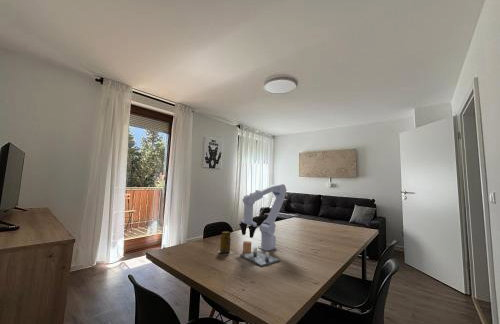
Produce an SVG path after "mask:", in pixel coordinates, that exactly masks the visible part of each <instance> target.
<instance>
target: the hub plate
mask: <svg viewBox="0 0 500 324" xmlns="http://www.w3.org/2000/svg"><path fill="white" fill-rule="evenodd" d="M239 256H240V258H243V259H245V260H246V261H248V262H250V263H253V264H254V265H256V266H258V267H261V268H262V267H265V266H268V265H272V264H276V263H278V262H281V260H280V258H277V257H275V256H272V255H270V252H267V251H265V252H262V251H260V250H258V247H253V251H251V253H244V254H240V255H239Z"/></svg>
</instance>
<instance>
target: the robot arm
mask: <svg viewBox="0 0 500 324" xmlns="http://www.w3.org/2000/svg"><path fill="white" fill-rule="evenodd" d="M286 192H287V187H286V185H285V184H284V183H281V184H279V183H278V184H277V183H273V184H270V185H269V186H267V187H266V188H264V189H262V190H260V189H256V190H255V191H254V192H250V193H249V194H246V195H244V196H243V199H242V203H243V219H240V220H239V224H238V225H239V227H240V230H241V235H242V236H245V235H246V233H247V228H248V231H249V238H251V239H252V238H254V235H255V232H256V230H257V228H258V225H257V224H258V223H257V222H255V221H253V218H254V205H255V203H256V202H258V201H259V200H261V199H263V197H264V196H265V195H268V194H270V193H272V194H273V196H275V200H274V202H273V204H272V206H271V209H270V211H269V213H268V216H267V218H266V219H264V220H263V222H262V223H261V224H260V225H259V232H260V235H261V236H260V237H261V238H260V239H261V241H260V246H258V247H257V249H261V250H263V251H265V252H267V251H271V250H276V249H277V247H276V241H277V240H276V239H277V238H276V236H275V231H276V223H275V222H276V219H277V218H278V216H279V213H280V211H281V208H282V206H283V203H284V201H285V198H286V197H285V196H286ZM248 225H249V226H248ZM247 226H248V227H247Z"/></svg>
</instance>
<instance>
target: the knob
mask: <svg viewBox="0 0 500 324" xmlns="http://www.w3.org/2000/svg"><path fill="white" fill-rule="evenodd" d="M251 252H252V241H250V240H244V241H243V242H242V253H244V254H246V253H251Z"/></svg>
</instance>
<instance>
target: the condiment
mask: <svg viewBox="0 0 500 324" xmlns="http://www.w3.org/2000/svg"><path fill="white" fill-rule="evenodd" d="M231 238H232V237H231V232H230V231H221V236H220V243H219V245H220V246H219V250H217V251H216V252H217V253H219V254H221V255H223V256H228V255H233V254H234V252H233V251H231Z"/></svg>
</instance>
